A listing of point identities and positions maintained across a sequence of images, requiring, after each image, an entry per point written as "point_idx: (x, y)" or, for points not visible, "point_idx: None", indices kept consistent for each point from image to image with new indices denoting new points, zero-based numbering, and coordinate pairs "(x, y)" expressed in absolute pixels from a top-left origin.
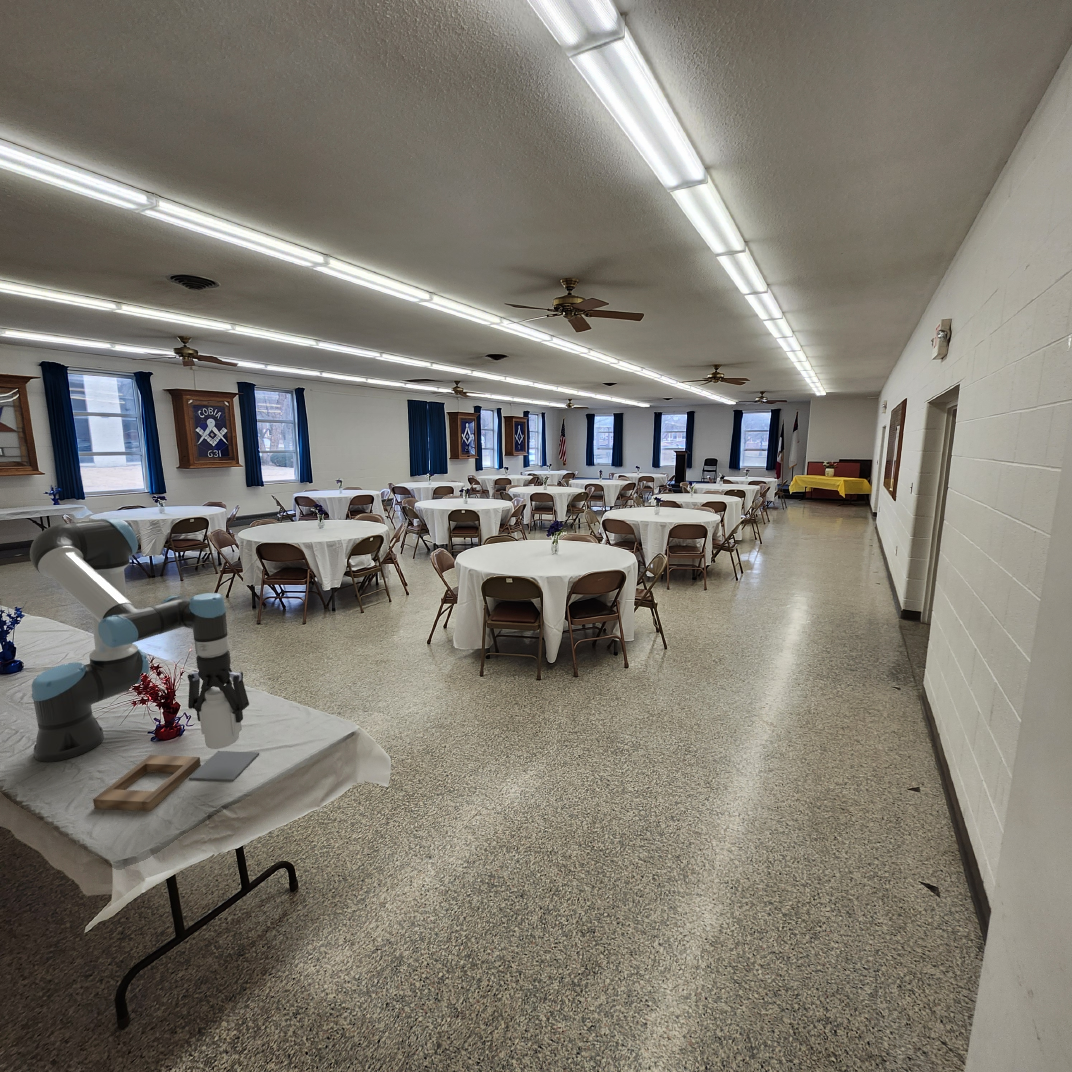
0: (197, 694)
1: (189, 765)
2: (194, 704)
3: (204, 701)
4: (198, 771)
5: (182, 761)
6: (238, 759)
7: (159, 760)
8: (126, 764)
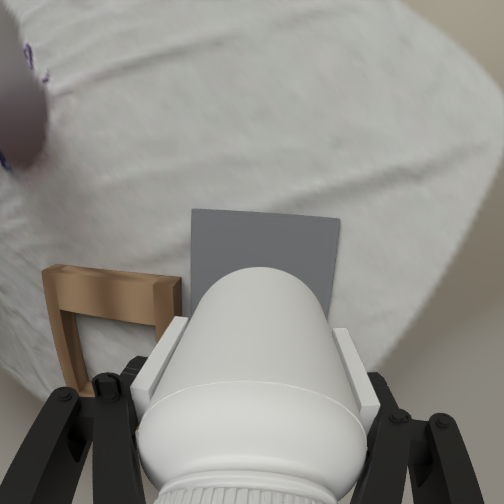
0: (58, 462)
1: None
2: (87, 439)
3: (153, 484)
4: None
5: (138, 307)
6: (289, 258)
7: (77, 298)
8: (18, 266)
